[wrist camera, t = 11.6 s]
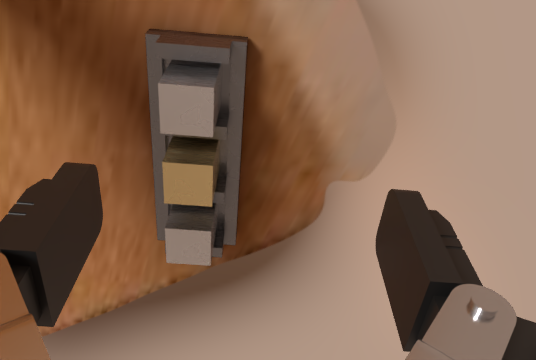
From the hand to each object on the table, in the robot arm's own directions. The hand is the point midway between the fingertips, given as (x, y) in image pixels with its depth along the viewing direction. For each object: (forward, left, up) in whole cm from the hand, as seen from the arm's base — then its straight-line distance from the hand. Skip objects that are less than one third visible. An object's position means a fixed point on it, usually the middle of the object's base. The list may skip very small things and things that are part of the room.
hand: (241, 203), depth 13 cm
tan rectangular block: (-5, -14, -27) cm, 31 cm away
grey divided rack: (-5, -14, -28) cm, 32 cm away
